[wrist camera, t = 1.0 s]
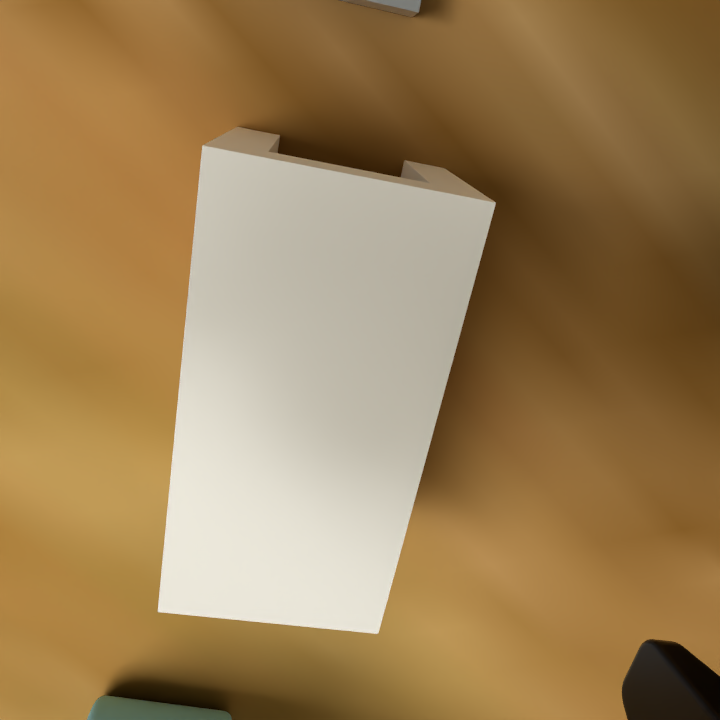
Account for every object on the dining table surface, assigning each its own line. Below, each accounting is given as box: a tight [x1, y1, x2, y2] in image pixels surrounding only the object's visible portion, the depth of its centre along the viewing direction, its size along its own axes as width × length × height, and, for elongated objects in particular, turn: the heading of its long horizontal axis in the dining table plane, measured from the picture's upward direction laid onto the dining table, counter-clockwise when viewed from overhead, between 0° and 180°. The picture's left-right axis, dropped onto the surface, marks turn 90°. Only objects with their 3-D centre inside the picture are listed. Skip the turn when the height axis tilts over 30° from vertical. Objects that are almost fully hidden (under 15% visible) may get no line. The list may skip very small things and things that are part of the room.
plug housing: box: [158, 127, 496, 634], centre depth 15 cm, size 5×10×5 cm, turn 169°
